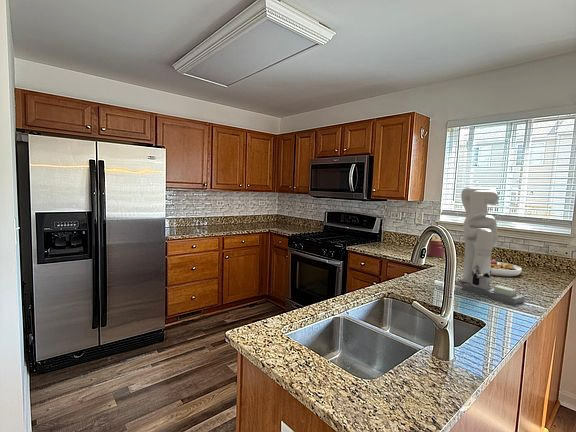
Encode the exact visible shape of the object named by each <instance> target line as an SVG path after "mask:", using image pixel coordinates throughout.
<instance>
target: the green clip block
mask: <svg viewBox="0 0 576 432" xmlns="http://www.w3.org/2000/svg"><path fill="white" fill-rule="evenodd" d="M493 288H494V292H495V293H499V294H502V295H506V296H510V297H515V296H516V294H517V289H514V288H511V287H508V286H507V287H506V286H504V285H499V284H498V285H495V286H494V287H493Z"/></svg>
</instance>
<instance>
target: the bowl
mask: <svg viewBox="0 0 576 432" xmlns="http://www.w3.org/2000/svg"><path fill="white" fill-rule="evenodd" d="M491 267H492V269H491V273H490V276H497V277H517V276H519V275H520V274H521V272H522V270H523V269H522V267H520V266H518V265H515V264H512V263H507V262H502V261H501V262H500V261H497V260H496V259H494V258H493V259H492V258H491Z"/></svg>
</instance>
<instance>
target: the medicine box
mask: <svg viewBox="0 0 576 432" xmlns="http://www.w3.org/2000/svg"><path fill="white" fill-rule="evenodd" d="M472 283H473V277H472V281H471V286H473V287H477V288H481V289H484V290H490V287H491V277H490V278H488V277H484V276H479V285H474V284H472Z"/></svg>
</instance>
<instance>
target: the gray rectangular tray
mask: <svg viewBox="0 0 576 432" xmlns="http://www.w3.org/2000/svg"><path fill="white" fill-rule="evenodd" d="M462 290H463V291H465V292H468V291H469V293H471V294H476V295H480V296H483V297H486V298H489V299H493V300H496V301H500V302H503V303H507V304H510V305H513V306H516V305H520V304H523V303H525V299H526V297H525V296H524V295H521V294H517V293H516V296H515V297H510V296H506V295H502V294H499V293H495V292H494V287H491V286H490V290H484V289H481V288H477V287H473V286H471V283H463V284H462Z"/></svg>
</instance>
